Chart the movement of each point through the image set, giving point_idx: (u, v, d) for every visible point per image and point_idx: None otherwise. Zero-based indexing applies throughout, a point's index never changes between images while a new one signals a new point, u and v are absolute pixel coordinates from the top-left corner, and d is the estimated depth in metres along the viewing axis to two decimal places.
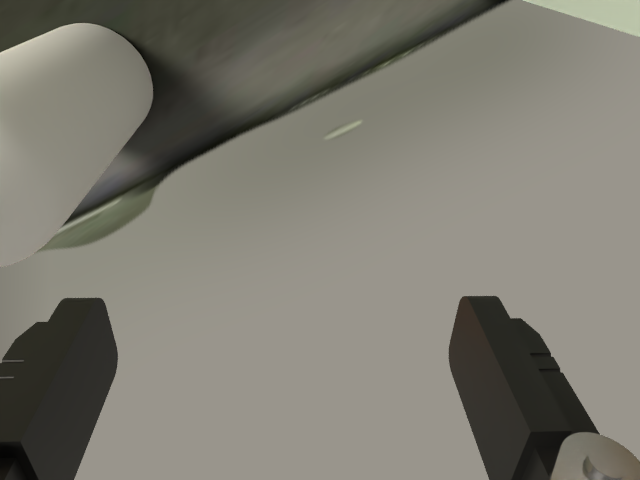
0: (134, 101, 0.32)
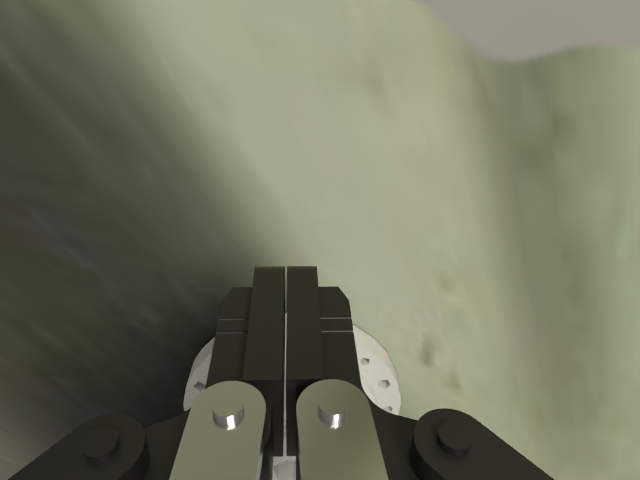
0: None
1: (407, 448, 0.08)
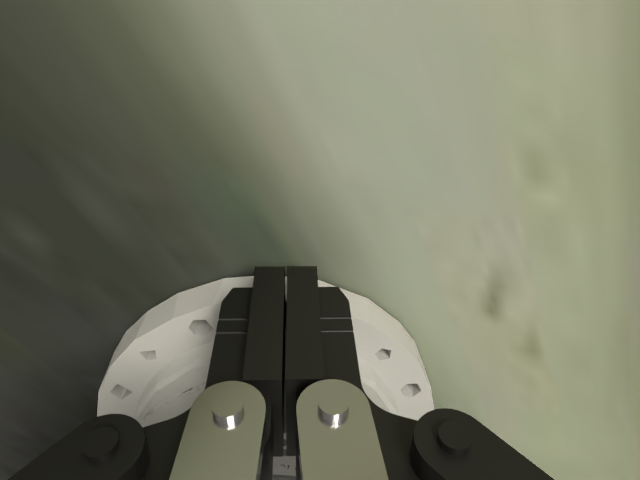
0: None
1: (407, 448, 0.08)
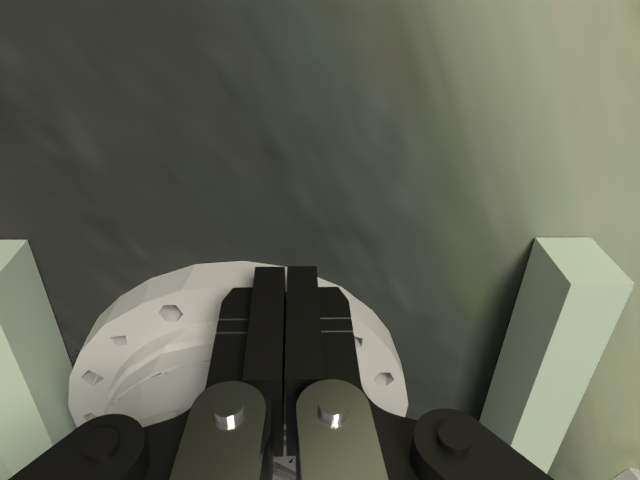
0: None
1: (407, 448, 0.08)
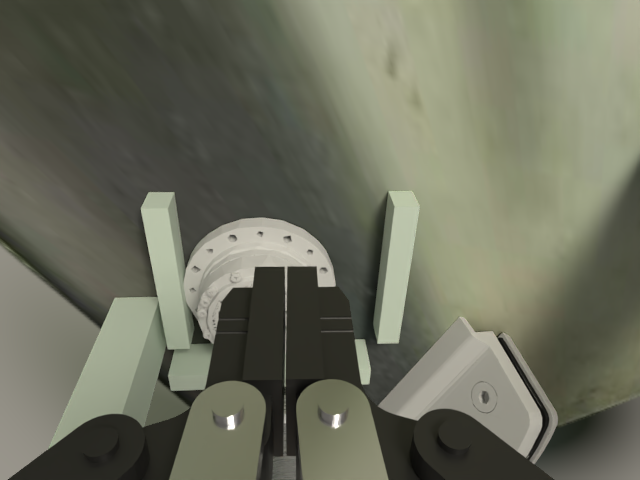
0: None
1: (407, 448, 0.08)
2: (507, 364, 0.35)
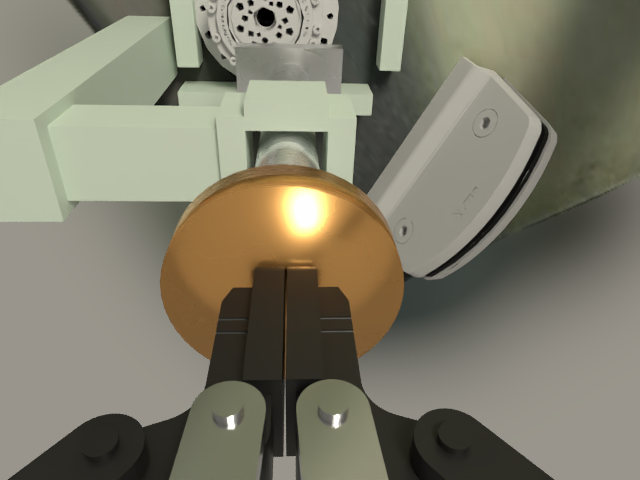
0: None
1: (407, 448, 0.08)
2: (507, 88, 0.36)
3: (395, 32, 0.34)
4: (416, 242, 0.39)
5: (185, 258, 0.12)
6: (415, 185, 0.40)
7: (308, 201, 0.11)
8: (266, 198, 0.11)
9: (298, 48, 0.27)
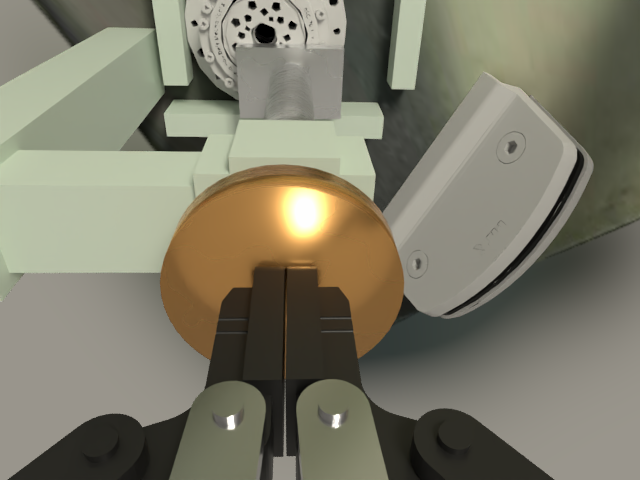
0: None
1: (407, 448, 0.08)
2: (536, 109, 0.32)
3: (409, 46, 0.31)
4: (432, 278, 0.35)
5: (185, 258, 0.12)
6: (430, 213, 0.36)
7: (308, 202, 0.11)
8: (267, 198, 0.11)
9: (299, 48, 0.27)
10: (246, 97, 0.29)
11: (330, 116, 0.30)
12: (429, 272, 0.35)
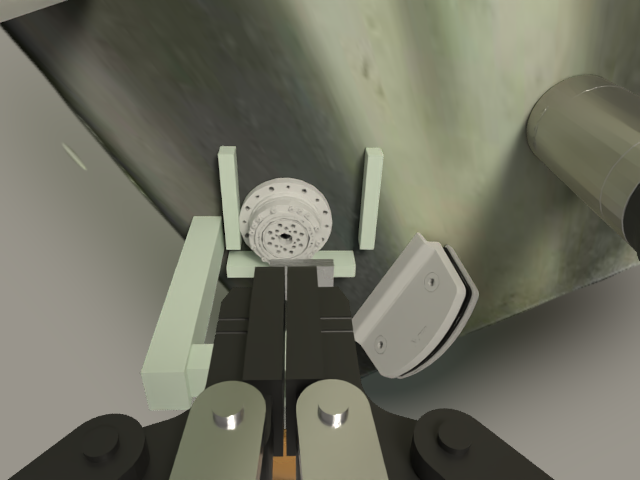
0: None
1: (407, 448, 0.08)
2: (446, 260, 0.54)
3: (370, 228, 0.53)
4: (388, 355, 0.57)
5: None
6: (388, 313, 0.58)
7: None
8: None
9: None
10: None
11: None
12: (387, 351, 0.57)
